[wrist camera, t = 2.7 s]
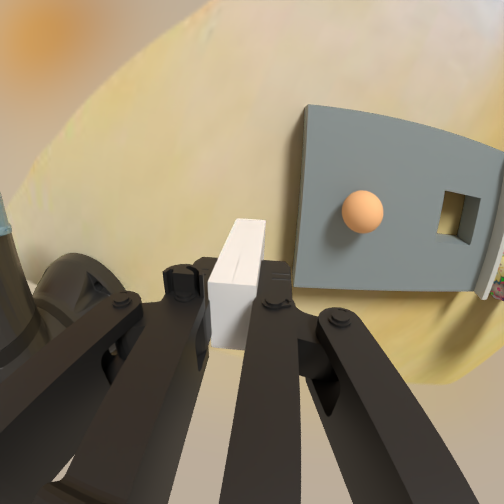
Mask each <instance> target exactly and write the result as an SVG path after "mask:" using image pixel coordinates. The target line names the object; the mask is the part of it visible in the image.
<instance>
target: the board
mask: <svg viewBox="0 0 504 504" xmlns="http://www.w3.org/2000/svg"><path fill="white" fill-rule="evenodd" d="M360 190H363V191H369V192H371V193H373V194H374V195H376V196H377V197H378V199H379V200H380V201H381V204H382V206H383V219H382V221H381V223H380V225H379V226H378V227H377V228H376V229H375V230H374V231H372V232H369V233H357V232H354V231H353V230H351V229H350V228H349V227H348V226H347V225H346V224H345V222H344V220H343V217H342V206H343V203H344V201H345V199H346V198H347V197H348V196H349V195H350V194H351V193H353V192H356V191H360ZM445 191H450V192H455V193H460V194H464V195H466V196H465V201H464V206H463V211H462V216H461V221H460V225H459V230H458V234H457V236H455V235H447V234H438V233H437V229H438V224H439V220H440V215H441V210H442V205H443V199H444V193H445ZM503 252H504V152H503V151H500V150H498V149H495V148H493V147H490V146H488V145H485V144H482V143H480V142H477V141H474V140H471V139H469V138H466V137H463V136H460V135H457V134H453V133H450V132H447V131H444V130H440V129H437V128H433V127H430V126H426V125H422V124H419V123H415V122H411V121H406V120H402V119H398V118H393V117H388V116H384V115H379V114H373V113H368V112H362V111H356V110H350V109H343V108H336V107H328V106H319V105H309V104H308V105H307V106H306V107H305V111H304V132H303V150H302V166H301V181H300V194H299V207H298V219H297V230H296V241H295V251H294V261H293V271H292V275H293V285H294V287H306V288H327V289H352V290H385V291H474V292H475V293H476V294H477V295H478V296H479V298H480V299H481V300H487V298H488V295H489V293H490V290H491V288H492V285H493V282H494V279H495V277H496V274H497V271H498V268H499V265H500V262H501V259H502V256H503Z"/></svg>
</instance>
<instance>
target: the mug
mask: <svg viewBox="0 0 504 504" xmlns="http://www.w3.org/2000/svg"><path fill="white" fill-rule="evenodd" d="M490 293H491V295H492V296H493V297H494V298H495V299H498V300H502V301H504V252H503V256H502V259H501V262H500V265H499V268H498V271H497V274H496V277H495V279H494V282H493V285H492V288H491V290H490Z"/></svg>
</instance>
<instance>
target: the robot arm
mask: <svg viewBox="0 0 504 504" xmlns="http://www.w3.org/2000/svg"><path fill="white" fill-rule="evenodd" d="M265 224H266V220H255V219H236V221H235V223H234V225H233V227H232V229H231V232H230V234H229V236H228V238H227V240H226V242H225V245H224V247H223V249H222V251H221V253H220V256H219V258H212V257H202V258H200V259H198V260H197V261H195V262H194V264H193V265H190V264H179V265H174V266H171V267H169V268H166V269H165V270H164V271H163V280H164V288H165V296H164V297H163V299H162V300H161V301H160V302H151V303H142V301H141V297H140V296H139V294H137V293H135V292H131V291H126V290H125V289H124V287H123V286H122V284H121V283H120V281H119V280H118V279H117V278H116V277H115V275H114V274H113V273H112V272H111V271H110V270H109V269H107V268H106V267H105V266H104V265H102V264H101V263H100V262H98V261H97V260H95V259H93V258H91V257H89V256H86V255H83V254H78V253H69V254H65V255H63V256H61V257H59V258H58V259H57V260H55V261H54V262H53V263H51V264H50V265H49V266H48V268H47V269H46V270H45V272H44V275H43V277H42V279H41V280H40V282H39V284H38V285H37V287H36V289H35V291H34V293H33V295H32V294H31V291H30V289H29V286H28V283H27V281H26V278H25V275H24V272H23V269H22V266H21V263H20V260H19V257H18V254H17V251H16V247H15V244H14V240H13V237H12V233H11V232H12V227H11V225H10V223H9V222H8V219H7V215H6V212H5V208H4V204H3V200H2V196H1V193H0V504H168V501H169V497H170V493H171V490H172V486H173V482H174V478H175V475H176V471H177V468H178V464H179V460H180V457H181V453H182V449H183V445H184V442H185V438H186V435H187V431H188V428H189V424H190V421H191V417H192V414H193V410H194V407H195V403H196V400H197V396H198V392H199V389H200V386H201V382H202V379H203V375H204V371H205V368H206V365H207V361H208V358H209V349H208V345H209V341H210V338H211V346H212V347H216V348H226V349H236V350H245V353H244V359H243V366H242V371H241V377H240V384H239V389H238V395H237V401H236V407H235V413H234V419H233V425H232V431H231V437H230V443H229V448H228V454H227V460H226V465H225V471H224V477H223V483H222V488H221V494H220V499H219V504H301V423H300V388H299V375H301V376H304V377H305V378H306V383H307V386H308V388H309V391H310V393H311V396H312V398H313V401H314V404H315V406H316V409H317V411H318V414H319V417H320V419H321V421H322V424H323V427H324V429H325V432H326V434H327V437H328V440H329V442H330V445H331V447H332V450H333V453H334V455H335V458H336V460H337V463H338V466H339V468H340V471H341V474H342V476H343V479H344V481H345V484H346V486H347V489H348V492H349V494H350V497H351V500H352V502H353V504H479V502H478V500H477V499H476V497H475V495H474V493H473V491H472V490H471V488H470V486H469V484H468V482H467V480H466V479H465V477H464V475H463V473H462V472H461V470H460V468H459V467H458V465H457V463H456V461H455V460H454V458H453V457H452V455H451V453H450V451H449V450H448V448H447V447H446V445H445V443H444V442H443V440H442V438H441V437H440V435H439V433H438V432H437V430H436V429H435V427H434V426H433V424H432V422H431V421H430V419H429V418H428V416H427V415H426V413H425V412H424V410H423V408H422V407H421V405H420V404H419V403H418V401H417V399H416V398H415V396H414V395H413V393H412V392H411V390H410V389H409V387H408V386H407V384H406V383H405V381H404V380H403V378H402V377H401V376H400V374H399V373H398V371H397V370H396V368H395V367H394V365H393V364H392V363H391V361H390V360H389V358H388V357H387V355H386V354H385V353H384V351H383V350H382V348H381V347H380V345H379V344H378V343H377V341H376V340H375V338H374V337H373V336H372V334H371V333H370V332H369V330H368V329H367V327H366V326H365V325H364V323H363V322H362V321H361V319H360V318H359V317H358V316H357V315H356V314H355V313H354V312H352V311H350V310H348V309H344V308H335V307H332V308H328V309H325V310H323V311H322V312H320V314H319V316H318V317H317V316H313V315H310V314H307V313H304V312H302V311H300V310H299V309H298V308H296V307H295V303H294V301H293V300H292V286H291V272H290V267H289V266H288V264H287V263H286V262H285V261H269V260H264V243H265ZM75 453H76V454H75ZM74 455H75V456H74ZM73 456H74V458H73V460H72V462H71V464H70V466H69V468H68V470H67V472H66V474H65V476H64V477H63V478H62V479H61V480H60V481H56V482H51V481H52V480H53V479H54V478H55V477H56V476H57V474H58V473H59V472H60V471H61V470H62V469H63V467H64V466H65V465H66V464H67V463H68V461H69V460H70V459H71V458H72V457H73Z"/></svg>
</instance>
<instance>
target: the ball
mask: <svg viewBox="0 0 504 504" xmlns="http://www.w3.org/2000/svg"><path fill="white" fill-rule="evenodd" d="M342 217H343V220H344V222H345V224H346V225H347V226H348V227H349V228H350V229H351V230H353V231H354V232H357V233H369V232H372V231H374V230H375V229H376V228H377V227H378V226H379V225H380V223H381V221H382V219H383V206H382V204H381V201H380V200H379V199H378V197H377V196H376V195H374V194H373V193H371V192H369V191H363V190H360V191H356V192H353V193H351V194H350V195H349V196H348V197H347V198H346V199H345V201H344V203H343V206H342Z"/></svg>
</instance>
